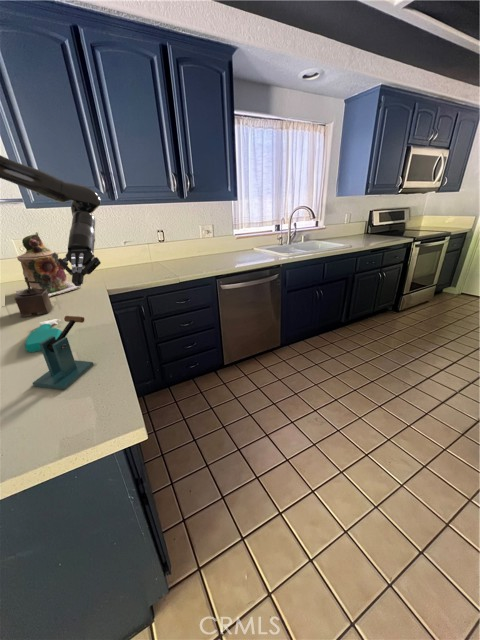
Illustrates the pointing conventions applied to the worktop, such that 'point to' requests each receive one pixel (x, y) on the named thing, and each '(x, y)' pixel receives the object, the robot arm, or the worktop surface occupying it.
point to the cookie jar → (43, 267)
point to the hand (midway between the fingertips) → (77, 284)
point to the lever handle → (66, 329)
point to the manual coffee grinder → (34, 299)
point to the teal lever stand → (60, 365)
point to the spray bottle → (41, 335)
